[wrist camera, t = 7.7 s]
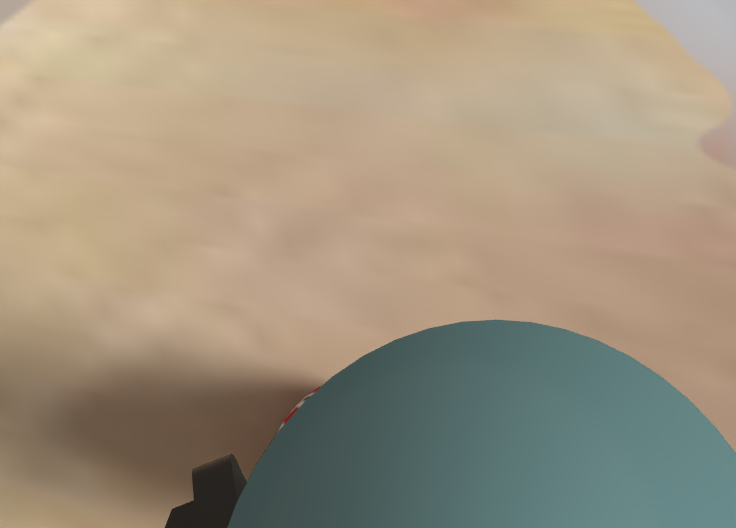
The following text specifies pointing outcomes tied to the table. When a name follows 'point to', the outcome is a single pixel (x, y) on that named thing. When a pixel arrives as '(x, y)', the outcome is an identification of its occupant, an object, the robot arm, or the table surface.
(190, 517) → the robot arm
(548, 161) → the table surface
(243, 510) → the jar
